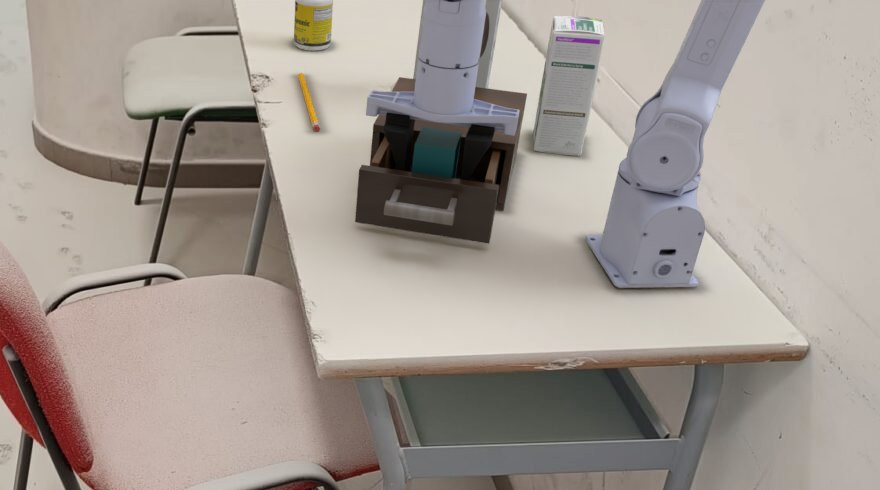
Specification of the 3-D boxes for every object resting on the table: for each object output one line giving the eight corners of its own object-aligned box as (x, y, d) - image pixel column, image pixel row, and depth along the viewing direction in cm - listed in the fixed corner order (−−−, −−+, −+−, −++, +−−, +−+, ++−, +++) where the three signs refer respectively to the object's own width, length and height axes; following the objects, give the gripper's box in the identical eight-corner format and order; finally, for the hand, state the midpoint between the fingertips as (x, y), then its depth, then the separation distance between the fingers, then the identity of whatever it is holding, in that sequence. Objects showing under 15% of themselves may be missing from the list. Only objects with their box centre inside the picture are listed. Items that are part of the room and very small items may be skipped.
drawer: (483, 265, 95) (493, 210, 92) (345, 242, 98) (349, 188, 94) (503, 185, 109) (511, 135, 106) (381, 167, 112) (386, 117, 109)
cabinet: (503, 211, 106) (515, 144, 102) (367, 190, 109) (373, 124, 105) (516, 155, 118) (527, 93, 113) (393, 138, 121) (399, 76, 116)
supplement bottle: (287, 41, 148) (289, -27, 143) (320, 37, 150) (323, -31, 145) (303, 53, 144) (306, -17, 139) (337, 49, 146) (341, -20, 141)
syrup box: (582, 157, 118) (609, 33, 109) (530, 151, 119) (553, 28, 110) (580, 137, 122) (605, 18, 114) (530, 132, 123) (552, 13, 115)
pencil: (313, 132, 122) (313, 126, 121) (298, 77, 137) (298, 73, 136) (320, 132, 122) (320, 126, 121) (303, 77, 137) (303, 72, 136)
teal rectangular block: (446, 212, 101) (455, 149, 97) (407, 206, 102) (414, 144, 98) (453, 193, 105) (461, 132, 101) (415, 188, 105) (422, 126, 101)
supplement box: (407, 108, 128) (422, -28, 119) (417, 83, 136) (431, -47, 126) (483, 117, 127) (504, -20, 117) (488, 91, 134) (509, -40, 124)
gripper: (530, 54, 96) (507, 183, 104) (381, 36, 99) (370, 163, 107) (523, 79, 91) (500, 213, 99) (366, 59, 94) (355, 191, 102)
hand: (431, 189), depth 102 cm, fingers open, 5 cm apart
